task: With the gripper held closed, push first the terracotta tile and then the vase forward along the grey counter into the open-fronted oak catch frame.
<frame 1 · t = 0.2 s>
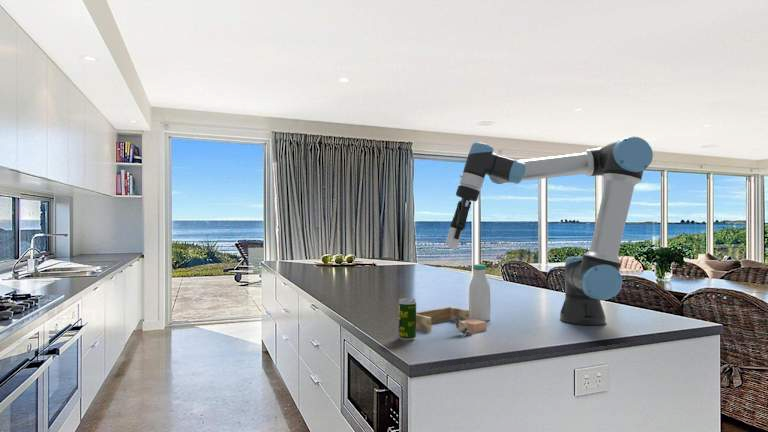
hand: (450, 247, 158), 27 cm above the counter, tool tilted 20°, fingers open, 13 cm apart
tile: (473, 330, 154), on the counter
vase: (460, 335, 147), on the counter
milk bottle: (479, 319, 170), on the counter
beer can: (407, 339, 142), on the counter
catch frame: (440, 325, 161), on the counter
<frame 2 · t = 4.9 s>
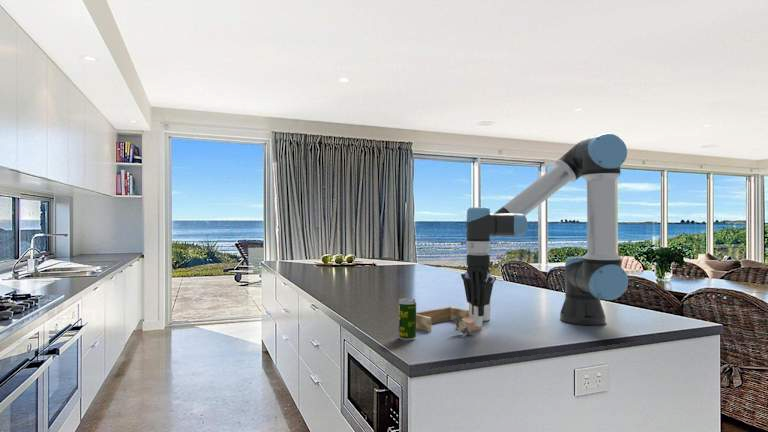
hand: (477, 325, 152), 2 cm above the counter, tool pointing down, fingers closed
tile: (469, 328, 155), on the counter
everything else where it was.
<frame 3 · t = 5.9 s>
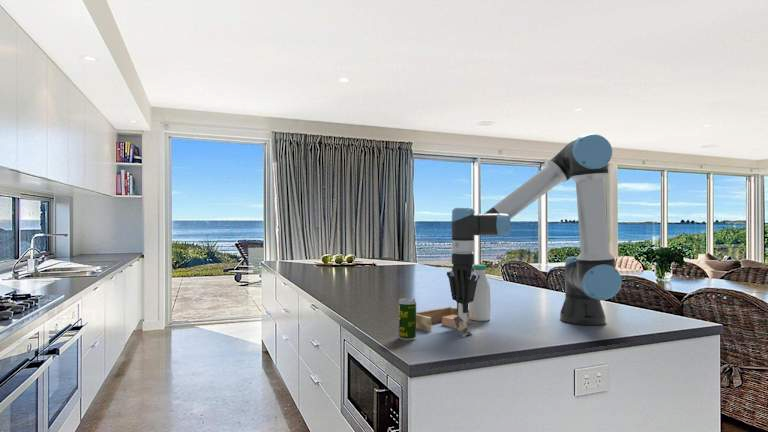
hand: (462, 322, 158), 2 cm above the counter, tool pointing down, fingers closed
tile: (454, 325, 160), on the counter, touching gripper
everything else where it was.
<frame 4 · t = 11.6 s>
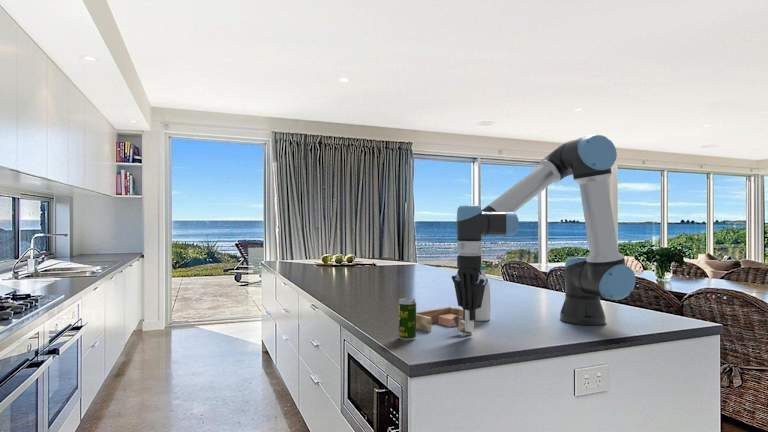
hand: (469, 330, 144), 2 cm above the counter, tool pointing down, fingers closed
tile: (450, 325, 162), on the counter
vase: (460, 335, 147), on the counter, touching gripper
everything else where it was.
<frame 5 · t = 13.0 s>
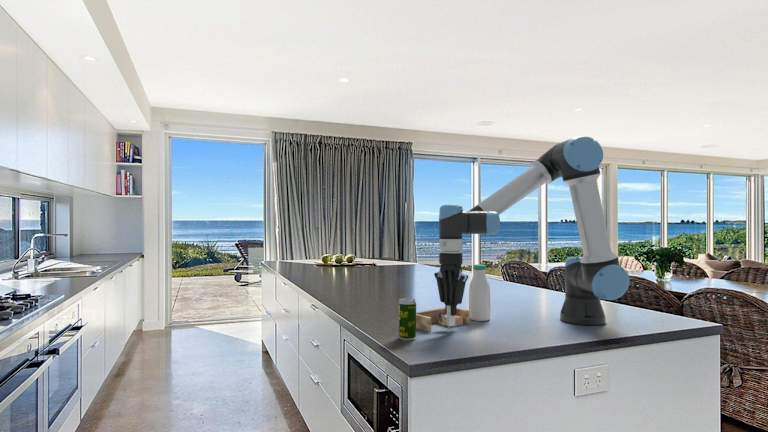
hand: (450, 325, 150), 2 cm above the counter, tool pointing down, fingers closed
vase: (445, 330, 152), on the counter, touching gripper
everything else where it was.
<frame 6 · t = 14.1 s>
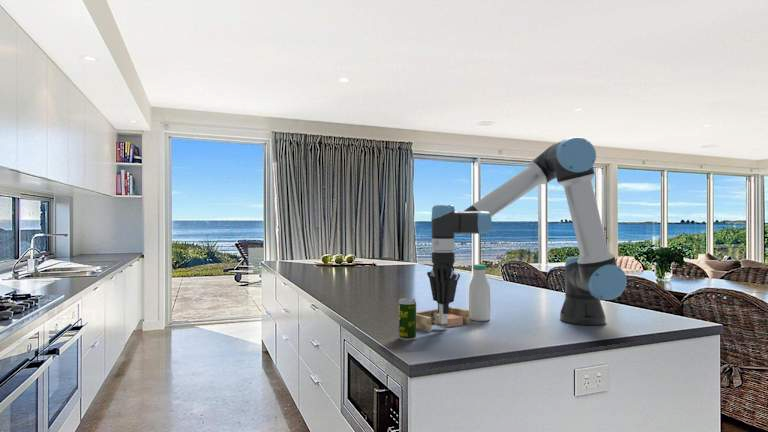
hand: (443, 323, 152), 2 cm above the counter, tool pointing down, fingers closed
vase: (438, 328, 155), on the counter, touching gripper
everything else where it was.
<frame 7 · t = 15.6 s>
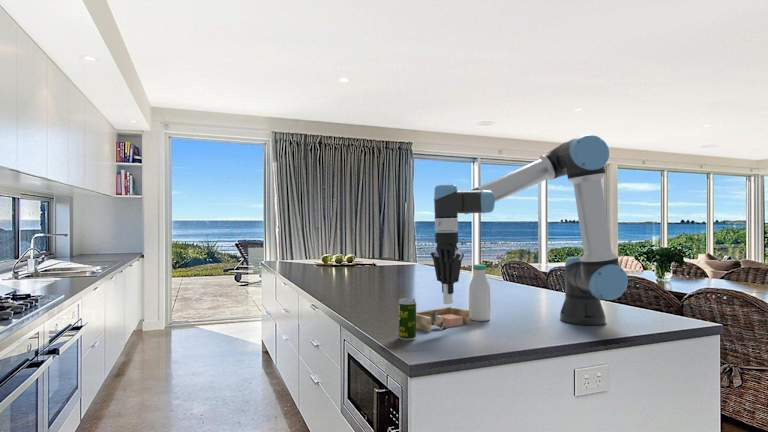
hand: (448, 303, 152), 9 cm above the counter, tool pointing down, fingers closed
vase: (437, 329, 156), on the counter
everything else where it was.
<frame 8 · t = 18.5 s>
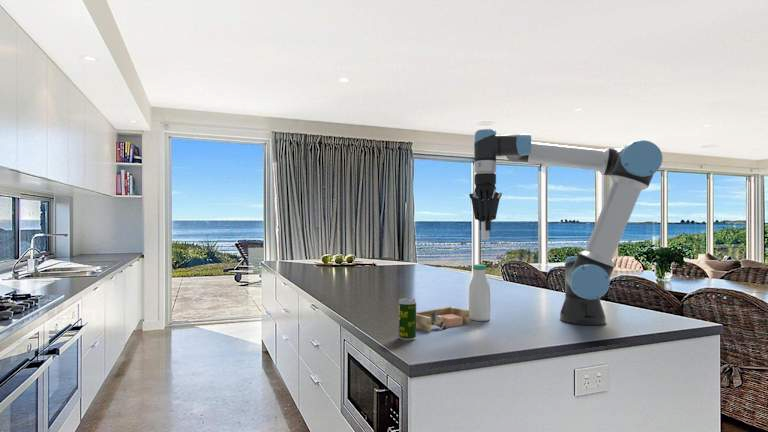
hand: (485, 239, 164), 29 cm above the counter, tool pointing down, fingers closed
nothing on the counter moved.
at the end: vase inside the target area (5.0 cm from its centre), on the counter; tile inside the target area (4.1 cm from its centre), on the counter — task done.
